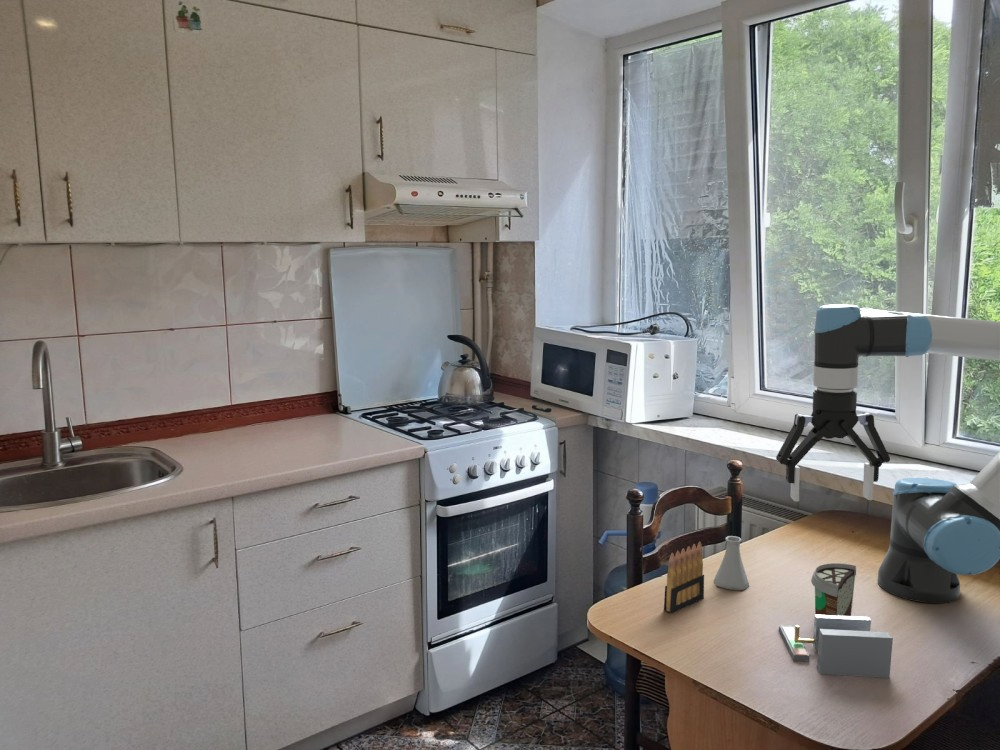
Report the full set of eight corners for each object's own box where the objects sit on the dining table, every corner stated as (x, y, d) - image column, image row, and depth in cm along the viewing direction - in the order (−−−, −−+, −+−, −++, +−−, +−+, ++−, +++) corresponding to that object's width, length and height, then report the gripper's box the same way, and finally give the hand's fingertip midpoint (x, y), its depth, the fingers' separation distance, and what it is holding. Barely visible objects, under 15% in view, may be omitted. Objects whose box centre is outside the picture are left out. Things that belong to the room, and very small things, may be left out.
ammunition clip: (671, 614, 154) (673, 555, 152) (663, 611, 156) (665, 552, 154) (704, 598, 161) (706, 541, 159) (696, 595, 163) (698, 539, 161)
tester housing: (859, 634, 146) (862, 598, 145) (889, 677, 132) (892, 638, 130) (778, 630, 148) (780, 594, 147) (799, 672, 133) (802, 633, 132)
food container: (820, 605, 158) (823, 557, 156) (853, 613, 154) (856, 564, 153) (799, 628, 149) (802, 577, 147) (833, 638, 145) (837, 586, 143)
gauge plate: (866, 649, 140) (868, 617, 139) (868, 652, 139) (871, 620, 138) (793, 645, 141) (795, 613, 140) (795, 648, 140) (797, 616, 139)
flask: (711, 588, 166) (713, 542, 165) (716, 574, 173) (717, 530, 171) (747, 593, 163) (749, 547, 162) (751, 580, 170) (753, 535, 168)
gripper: (894, 383, 151) (889, 491, 155) (761, 386, 153) (759, 493, 156) (913, 390, 144) (907, 503, 147) (772, 393, 145) (770, 506, 149)
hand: (831, 498), depth 152 cm, fingers open, 13 cm apart
